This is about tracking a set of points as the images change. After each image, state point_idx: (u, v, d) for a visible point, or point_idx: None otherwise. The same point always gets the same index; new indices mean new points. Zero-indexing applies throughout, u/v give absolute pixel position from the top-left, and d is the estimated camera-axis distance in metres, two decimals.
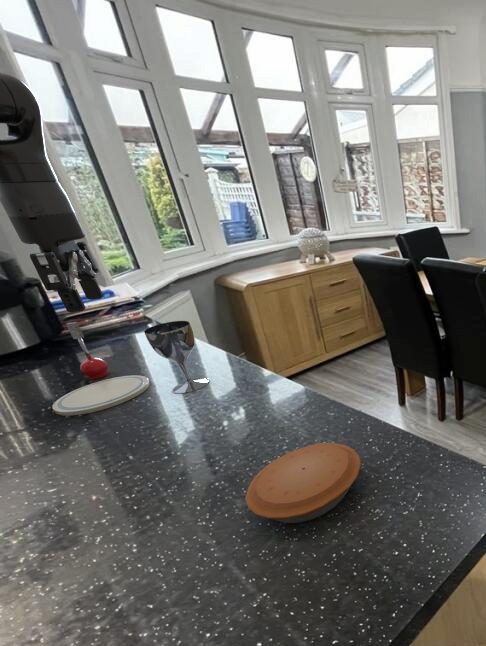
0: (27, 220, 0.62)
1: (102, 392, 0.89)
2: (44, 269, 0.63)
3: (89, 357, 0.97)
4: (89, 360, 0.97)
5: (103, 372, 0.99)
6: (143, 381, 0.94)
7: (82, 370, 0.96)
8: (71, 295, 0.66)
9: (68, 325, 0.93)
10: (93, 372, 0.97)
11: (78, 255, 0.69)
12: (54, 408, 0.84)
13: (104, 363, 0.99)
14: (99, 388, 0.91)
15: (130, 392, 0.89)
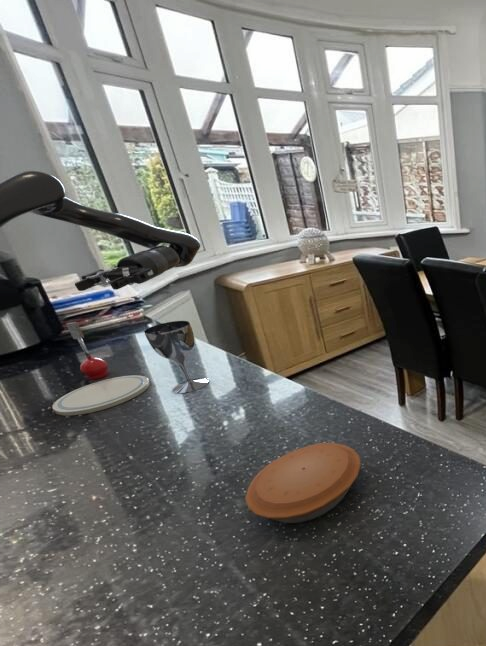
0: (153, 264, 1.12)
1: (102, 392, 0.89)
2: (146, 273, 1.06)
3: (89, 357, 0.97)
4: (89, 360, 0.97)
5: (103, 372, 0.99)
6: (143, 381, 0.94)
7: (82, 370, 0.96)
8: (127, 283, 1.02)
9: (68, 325, 0.93)
10: (93, 372, 0.97)
11: None
12: (54, 408, 0.84)
13: (104, 363, 0.99)
14: (99, 388, 0.91)
15: (130, 392, 0.89)
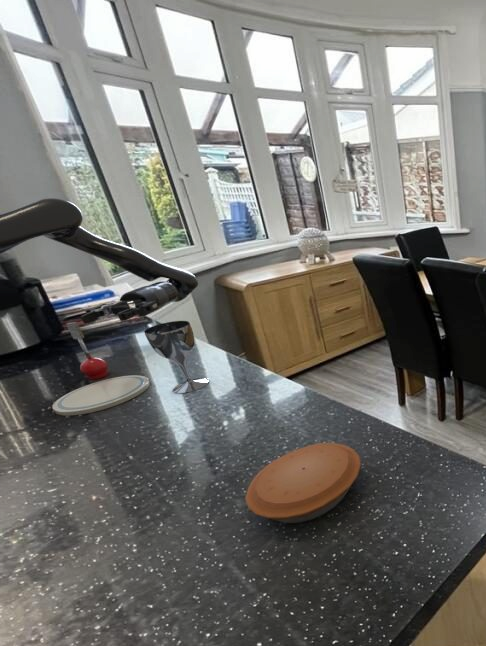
0: (156, 298, 1.16)
1: (102, 392, 0.89)
2: (151, 306, 1.10)
3: (89, 357, 0.97)
4: (89, 360, 0.97)
5: (103, 372, 0.99)
6: (143, 381, 0.94)
7: (82, 370, 0.96)
8: (133, 315, 1.05)
9: (68, 325, 0.93)
10: (93, 372, 0.97)
11: None
12: (54, 408, 0.84)
13: (104, 363, 0.99)
14: (99, 388, 0.91)
15: (130, 392, 0.89)
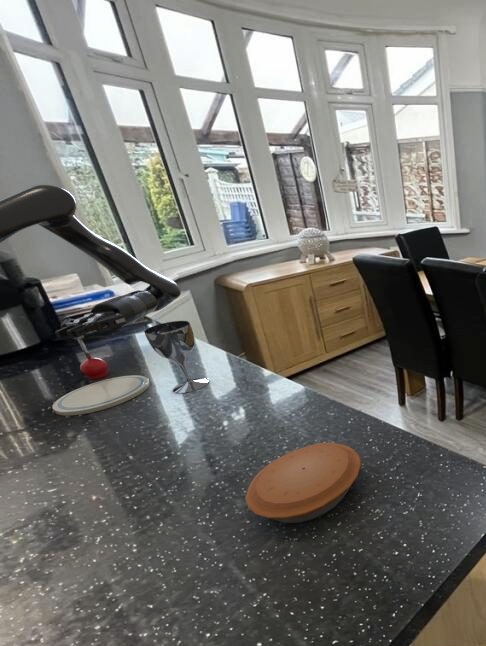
0: (131, 309, 1.07)
1: (102, 392, 0.89)
2: (112, 321, 0.99)
3: (89, 357, 0.97)
4: (89, 360, 0.97)
5: (103, 372, 0.99)
6: (143, 381, 0.94)
7: (82, 370, 0.96)
8: (86, 332, 0.95)
9: (68, 325, 0.93)
10: (93, 372, 0.97)
11: None
12: (54, 408, 0.84)
13: (104, 363, 0.99)
14: (99, 388, 0.91)
15: (130, 392, 0.89)
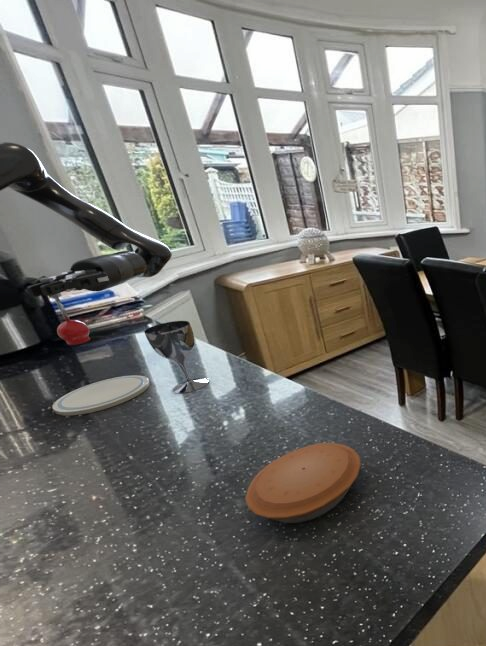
0: (116, 269, 0.95)
1: (102, 392, 0.89)
2: (94, 279, 0.87)
3: (67, 319, 0.86)
4: (67, 322, 0.85)
5: (84, 337, 0.87)
6: (143, 381, 0.94)
7: (59, 333, 0.85)
8: (63, 289, 0.83)
9: (42, 281, 0.82)
10: (72, 336, 0.85)
11: None
12: (54, 408, 0.84)
13: (85, 326, 0.87)
14: (99, 388, 0.91)
15: (130, 392, 0.89)
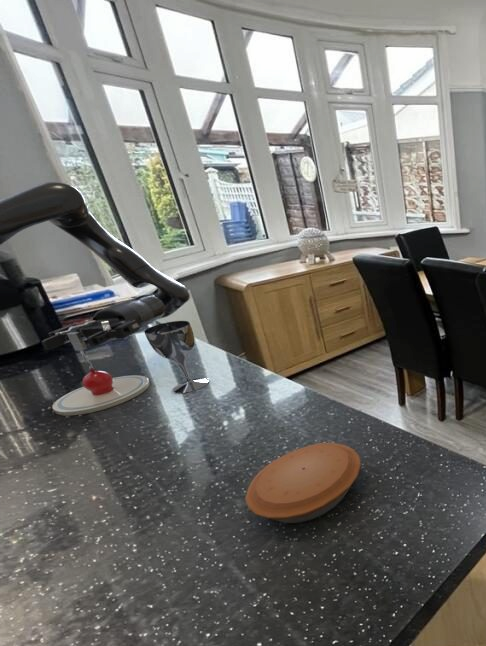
0: (137, 315, 0.97)
1: None
2: (131, 326, 0.91)
3: (92, 370, 0.88)
4: (92, 374, 0.87)
5: (108, 387, 0.89)
6: (143, 381, 0.94)
7: (85, 385, 0.87)
8: (108, 339, 0.86)
9: (69, 335, 0.84)
10: (97, 387, 0.87)
11: None
12: (54, 408, 0.84)
13: (109, 377, 0.89)
14: None
15: (130, 392, 0.89)
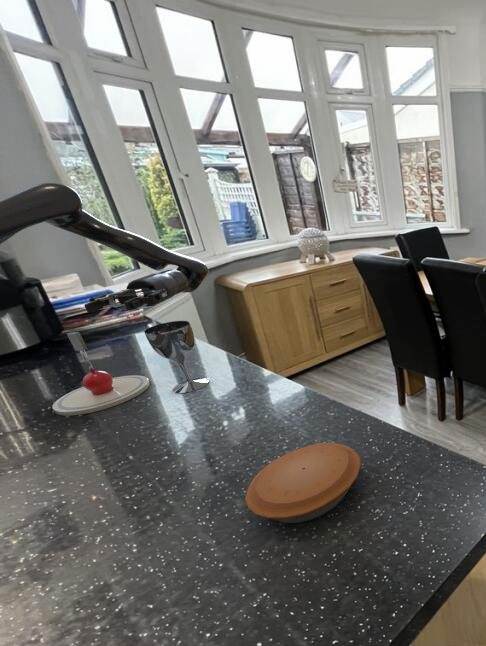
0: (165, 286, 1.07)
1: None
2: (161, 294, 1.01)
3: (92, 370, 0.88)
4: (92, 374, 0.87)
5: (108, 387, 0.89)
6: (143, 381, 0.94)
7: (85, 385, 0.87)
8: (142, 304, 0.97)
9: (69, 335, 0.84)
10: (97, 387, 0.87)
11: None
12: (54, 408, 0.84)
13: (109, 377, 0.89)
14: None
15: (130, 392, 0.89)
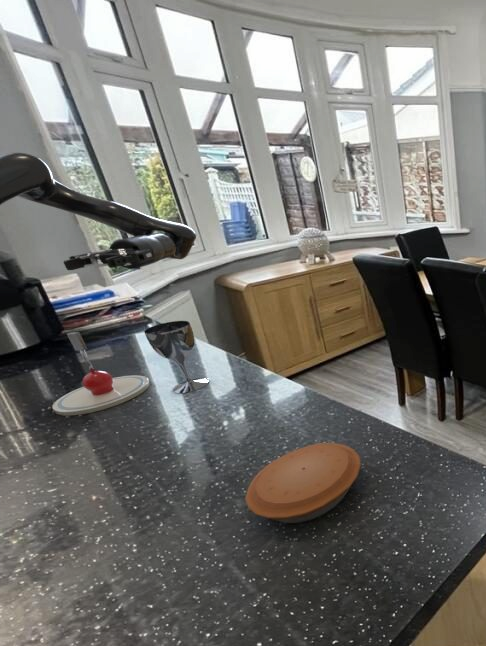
0: (150, 248, 1.03)
1: None
2: (145, 254, 0.97)
3: (92, 370, 0.88)
4: (92, 374, 0.87)
5: (108, 387, 0.89)
6: (143, 381, 0.94)
7: (85, 385, 0.87)
8: (124, 263, 0.93)
9: (69, 335, 0.84)
10: (97, 387, 0.87)
11: None
12: (54, 408, 0.84)
13: (109, 377, 0.89)
14: None
15: (130, 392, 0.89)
